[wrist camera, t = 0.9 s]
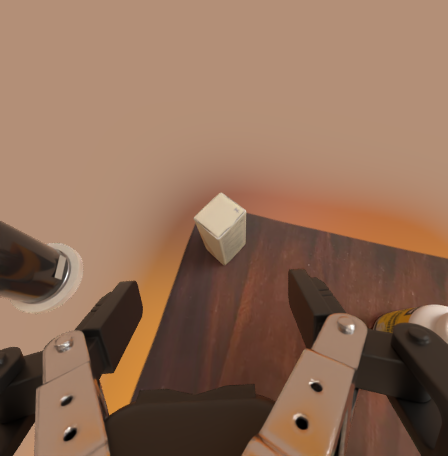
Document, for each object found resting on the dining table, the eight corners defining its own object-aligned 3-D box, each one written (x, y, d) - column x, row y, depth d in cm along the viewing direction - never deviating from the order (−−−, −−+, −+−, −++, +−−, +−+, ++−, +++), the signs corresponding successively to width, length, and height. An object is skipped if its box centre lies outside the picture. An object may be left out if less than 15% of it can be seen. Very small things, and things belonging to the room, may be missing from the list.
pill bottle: (400, 305, 33) (475, 287, 22) (436, 354, 30) (541, 360, 19) (360, 325, 32) (418, 316, 21) (393, 377, 29) (478, 396, 19)
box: (226, 228, 39) (222, 189, 29) (246, 244, 38) (248, 209, 28) (204, 250, 38) (191, 217, 28) (224, 267, 36) (218, 239, 27)
